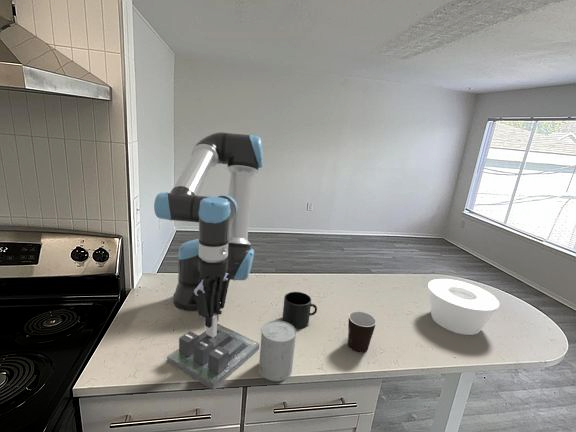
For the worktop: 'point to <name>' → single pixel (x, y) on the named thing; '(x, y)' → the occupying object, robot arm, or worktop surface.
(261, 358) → the grey stone cylinder
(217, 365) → the breaker
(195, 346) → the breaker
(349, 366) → the worktop surface
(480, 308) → the bowl
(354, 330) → the dark brown tapered cylinder
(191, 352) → the block
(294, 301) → the mug
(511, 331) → the worktop surface
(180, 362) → the panel
